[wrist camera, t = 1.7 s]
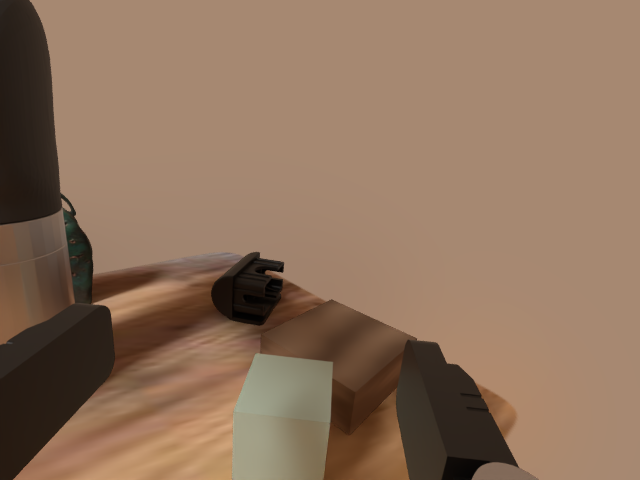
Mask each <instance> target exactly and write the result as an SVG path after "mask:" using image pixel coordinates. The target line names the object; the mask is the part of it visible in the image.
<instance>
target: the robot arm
mask: <svg viewBox="0 0 640 480" xmlns="http://www.w3.org/2000/svg"><path fill="white" fill-rule="evenodd" d="M114 360H115V352H114V342H113V331H112V321H111V313H110V310H109V308H108V307H106V306H102V305H93V304H84V303H75V299H74V291H73V284H72V276H71V268H70V261H69V253H68V245H67V239H66V231H65V224H64V216H63V208H62V201H61V194H60V182H59V166H58V156H57V148H56V139H55V126H54V112H53V93H52V77H51V67H50V57H49V51H48V45H47V41H46V36H45V32H44V29H43V25H42V23H41V20H40V18H39V16H38V14H37V12H36V10H35V8H34V6H33V5H32V3H31V2H30V1H29V0H0V480H13V479H14V478H15V477H16V476H17V475H18V474H19V473H20V471H21V470H22V469H23V468H24V467H25V466H26V465H27V464H28V463H29V462H30V461H31V460H32V459H33V458H34V457H35V455H36V454H37V453H38V452H39V451H40V450H41V449H42V448H43V447H44V446H45V445H46V444H47V443H48V442H49V440H50V439H51V438H52V437H53V436H54V435H55V434H56V433H57V432H58V431H59V430H60V429H61V428H62V427H63V426H64V424H65V423H66V422H67V421H68V420H69V419H70V418H71V417H72V416H73V415H74V414H75V413H76V412H77V411H78V409H79V408H80V407H81V406H82V405H83V404H84V403H85V402H86V401H87V400H88V399H89V398H90V397H91V396H92V395H93V393H94V392H95V391H96V390H97V389H98V388H99V387H100V386H101V385H102V384H103V383H104V382H105V381H106V379H107V378H108V377H109V375H110V373H111V371H112V368H113V365H114ZM396 409H397V417H398V422H399V427H400V432H401V437H402V443H403V448H404V453H405V458H406V463H407V469H408V474H409V479H410V480H538V479H537V478H536V477H534V476H533V475H531V474H530V473H528V472H526V471H524V470H522V469H520V468H519V467H518V465H517V463H516V461H515V459H514V457H513V455H512V453H511V451H510V449H509V447H508V445H507V444H506V442H505V440H504V438H503V436H502V434H501V432H500V430H499V428H498V426H497V424H496V422H495V421H494V419H493V417H492V415H491V413H489V409H488V407H487V405H486V403H485V401H484V399H482V398H481V394H480V392H479V390H478V388H477V386H476V384H475V382H474V380H473V379H472V378H471V377H470V376H469V375H468V374H467V373H466V372H465V371H464V370H463V369H462V368H460V366H458V365H454V364H447V363H446V361H445V358H444V356H443V354H442V352H441V349H440V347H439V345H438V344H437V343H435V342H426V341H417V340H407V342H406V344H405V348H404V354H403V359H402V365H401V370H400V375H399V381H398V386H397V395H396Z"/></svg>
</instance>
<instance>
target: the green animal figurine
mask: <svg viewBox="0 0 640 480" xmlns="http://www.w3.org/2000/svg"><path fill="white" fill-rule="evenodd" d="M60 194H61V193H60ZM61 198H62V199H63V200H64V201H65V202H67V204H68V205H69V206H70V208H71V212H69V211H67V210H65V209H64V208H63V207H62V208H63V216H64V224H65V231H66V239H67V245H68V253H69V261H70V268H71V276H72V284H73V291H74V299H75V303H84V304H91V302H92V279H93V260H92V247H91V244H90V242H89V239H88V238H87V236H86V234H85V233H84V232H83V231H82V230H81V228H80V227H79V225H78V223H77V220H76V219H75V217H74V216H75V215H76V212H75V210H74V208H73V206H72V204H71V203H70V201H69V200H68V199H67V198H66V197H65V196H64V195H63V194H61Z"/></svg>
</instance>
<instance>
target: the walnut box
mask: <svg viewBox="0 0 640 480" xmlns="http://www.w3.org/2000/svg"><path fill="white" fill-rule="evenodd" d="M407 340H417V339H416V338H415V337H413V336H410V335H408V334H406V333H404V332H402V331H399V330H397V329H395V328H393V327H391V326H388V325H386V324H384V323H382V322H380V321H378V320H375V319H373V318H371V317H369V316H366V315H364V314H362V313H360V312H358V311H356V310H354V309H351V308H349V307H347V306H345V305H343V304H340V303H338V302H336V301H334V300H330V301H328V302H325V303H323V304H321V305H319V306H317V307H315V308H313V309H311V310H309V311H307V312H305V313H303V314H301V315H299V316H297V317H295V318H293V319H291V320H289V321H287V322H285V323H283V324H281V325H279V326H277V327H275V328H273V329H271V330H268V331H266V332H264V333H262V334H261V351H260V354H266V355H275V356H284V357H293V358H302V359H310V360H319V361H328V362H333V372H332V395H331V419H330V422H331V423H333V424H334V425H335V426H337V427H338V428H340V429H341V430H342V431H344V432H345V433H347V434H348V435H350V434H351V433H352V432H353V431H354V430H355V429H356V428H357V427H358V426H359V425H360V424H361V423H362V422H363V421H364V420H365V419H366V418H367V417H368V416H369V415H370V414H371V413H372V412H373V411H374V410H375V409H376V408H377V407H378V406H379V405H380V404H381V403H382V402H383V401H384V400H385V399H386V398H387V397H388V396H389V395H390V394H391V393H392V392H393V391H394V390H395V389H396V388H397V386H398V381H399V375H400V370H401V365H402V359H403V354H404V348H405V344H406V342H407Z"/></svg>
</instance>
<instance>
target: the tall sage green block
mask: <svg viewBox="0 0 640 480" xmlns="http://www.w3.org/2000/svg"><path fill="white" fill-rule="evenodd" d="M332 372H333V362H328V361H319V360H310V359H302V358H293V357H284V356H275V355H266V354H258V353H256V354H255V357H254V359H253V362H252V364H251V367H250V370H249V372H248V375H247V377H246V380H245V383H244V385H243V388H242V391H241V393H240V396H239V398H238V401H237V404H236V406H235V409H234V413H233V462H232V480H323V478H324V470H325V462H326V454H327V446H328V438H329V430H330V419H331V395H332Z"/></svg>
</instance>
